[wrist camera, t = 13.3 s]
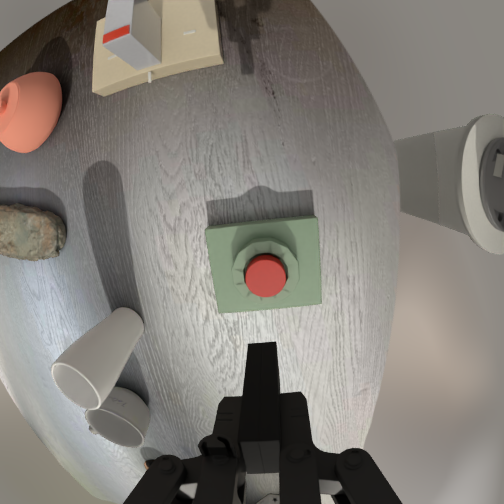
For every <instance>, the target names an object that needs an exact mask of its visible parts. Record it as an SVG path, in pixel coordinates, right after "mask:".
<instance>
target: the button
mask: <svg viewBox="0 0 504 504" xmlns="http://www.w3.org/2000/svg"><path fill="white" fill-rule="evenodd" d="M245 281H246V285H247V287H248V289H249V290H250V291H251V292H252V293H253V294H255V295H257V296H260V297H272V296H274V295H276V294H278V293H279V292H280V291H281V290H282V289H283V287H284V286H285V283H286V274H285V269H284V266H283V264H282V262H281V261H280V260H279V259H277V258H276V257H274V256H271V255H260V256H257V257H256V258H254V259H253V260H252V261H251V262H250V263H249V265H248V267H247V271H246V275H245Z"/></svg>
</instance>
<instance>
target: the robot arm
mask: <svg viewBox="0 0 504 504" xmlns="http://www.w3.org/2000/svg"><path fill="white" fill-rule="evenodd" d="M479 190H480V197H481V202H482V206H483V209H484V212H485V215H486V217H487V219H488V221H489V222H490V223H491V225H492V226H493V227H494V228H495V229H497V230H499V231H502V232H504V137H502V138H495V139H493V140H492V141H490V142H489V143H488V145H487V146H486V148H485V150H484V152H483V155H482V158H481V163H480V169H479ZM198 448H199V450H200V452H201V454H202V455H200V456H198V457H195V458H189V459H183V460H180V458H178V457H176V456H174V455H162V456H160V457H158V458H157V459H156V460H154V461H153V463H152V464H151V466H150V467H149V468H148V470H147V471H146V473H145V474H144V475H143V477H142V478H141V480H140V481H139V482H138V484H137V485H136V487H135V488H134V489H133V491H132V492H131V493H130V495H129V496H128V498H127V499H126V500H125V502H124V503H123V504H245V501H246V488H247V483H246V479H245V476H246V472H247V474H258V473H279V482H280V504H321V496H320V494H329V495H331V497H332V499H333V501H334V503H335V504H402V503H401V501H400V499H399V498H398V496H397V495H396V493H395V492H394V491H393V489H392V487H391V486H390V484H389V483H388V481H387V480H386V478H385V477H384V475H383V474H382V472H381V471H380V469H379V468H378V466H377V465H376V464H375V462H374V460H373V459H372V457H371V456H370V455H369V454H368V453H367V452H366V451H365V450H363V449H360V448H351V449H347V450H345V451H343V452H341V453H340V454H336V453H328V452H323V451H321V450H319V449H318V448H317V447H316V446H315V445H314V444H313V441H312V435H311V428H310V421H309V414H308V407H307V400H306V398H305V396H304V395H303V394H302V393H301V392H292V393H281V394H280V378H279V367H278V356H277V345H276V342H265V343H252V344H248V351H247V360H246V369H245V377H244V386H243V395H242V396H236V397H224V398H223V399H222V401H221V402H220V403H219V405H218V410H217V415H216V421H215V424H214V429H213V434H211V435H209V436H206V437H204V438H203V439H202V440H201V441H200V442H199V444H198Z"/></svg>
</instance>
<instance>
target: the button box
mask: <svg viewBox="0 0 504 504" xmlns="http://www.w3.org/2000/svg"><path fill="white" fill-rule="evenodd" d="M205 235H206V242H207V248H208V254H209V260H210V266H211V272H212V278H213V284H214V289H215V295H216V300H217V306H218V311H219V313H232V312H246V311H258V310H270V309H280V308H290V307H300V306H309V305H317V304H322V299H321V268H320V247H319V231H318V218H317V217H316V216H315V215H307V216H297V217H286V218H276V219H266V220H257V221H248V222H239V223H230V224H221V225H213V226H208V227H207V228H206V229H205ZM260 255H271V256H274V257H276V258H277V259H279V260H280V261H281V262H282V264H283V266H284V269H285V274H286V283H285V286H284V287H283V289H282V290H281V291H280V292H279V293H278V294H276V295H274V296H272V297H260V296H257V295H255V294H253V293H252V292H251V291H250V290H249V289H248V287H247V285H246V281H245V275H246V271H247V267H248V265H249V263H250V262H251V261H252V260H253V259H254V258H256V257H257V256H260Z"/></svg>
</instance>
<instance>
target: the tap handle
mask: <svg viewBox="0 0 504 504" xmlns="http://www.w3.org/2000/svg"><path fill="white" fill-rule="evenodd" d="M102 46H103V47H105V48H106V49H108V50H109V51H111V52H112V53H114V54H115V55H116V56H118V57H119V58H121V59H122V60H123V61H125V62H126V63H128V64H129V65H130V66H132V67H133V68H135V69H136V70H141V69H144V68H147V67H151V66H154V65H158V64H161V18H160V17H159V16H158V14H157V13H156V12H155V10H154V9H153V8H152V6H151V5H150V4H149V3H148V1H147V0H108V6H107V12H106V19H105V26H104V35H103V45H102Z"/></svg>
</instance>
